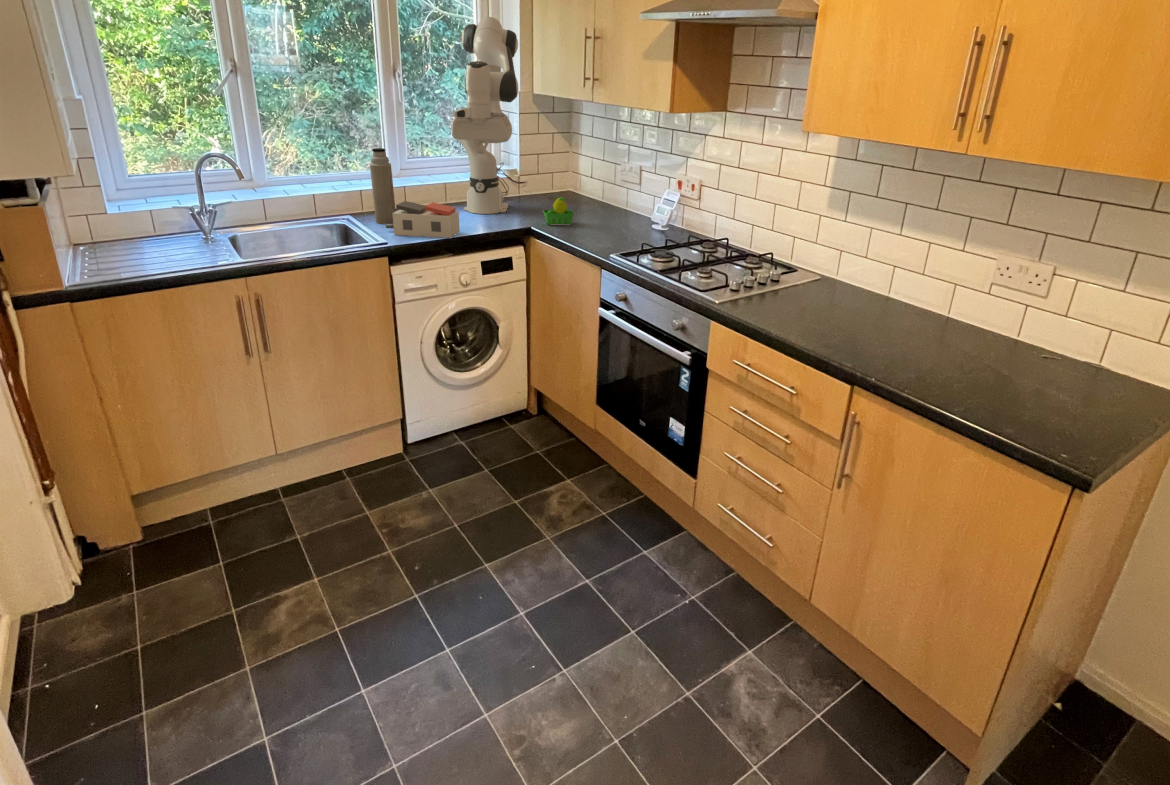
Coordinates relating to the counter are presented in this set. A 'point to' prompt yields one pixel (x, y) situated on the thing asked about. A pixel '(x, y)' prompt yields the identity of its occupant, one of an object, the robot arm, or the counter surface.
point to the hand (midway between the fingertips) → (481, 153)
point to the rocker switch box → (425, 224)
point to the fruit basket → (558, 213)
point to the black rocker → (411, 207)
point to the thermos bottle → (382, 187)
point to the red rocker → (440, 209)
